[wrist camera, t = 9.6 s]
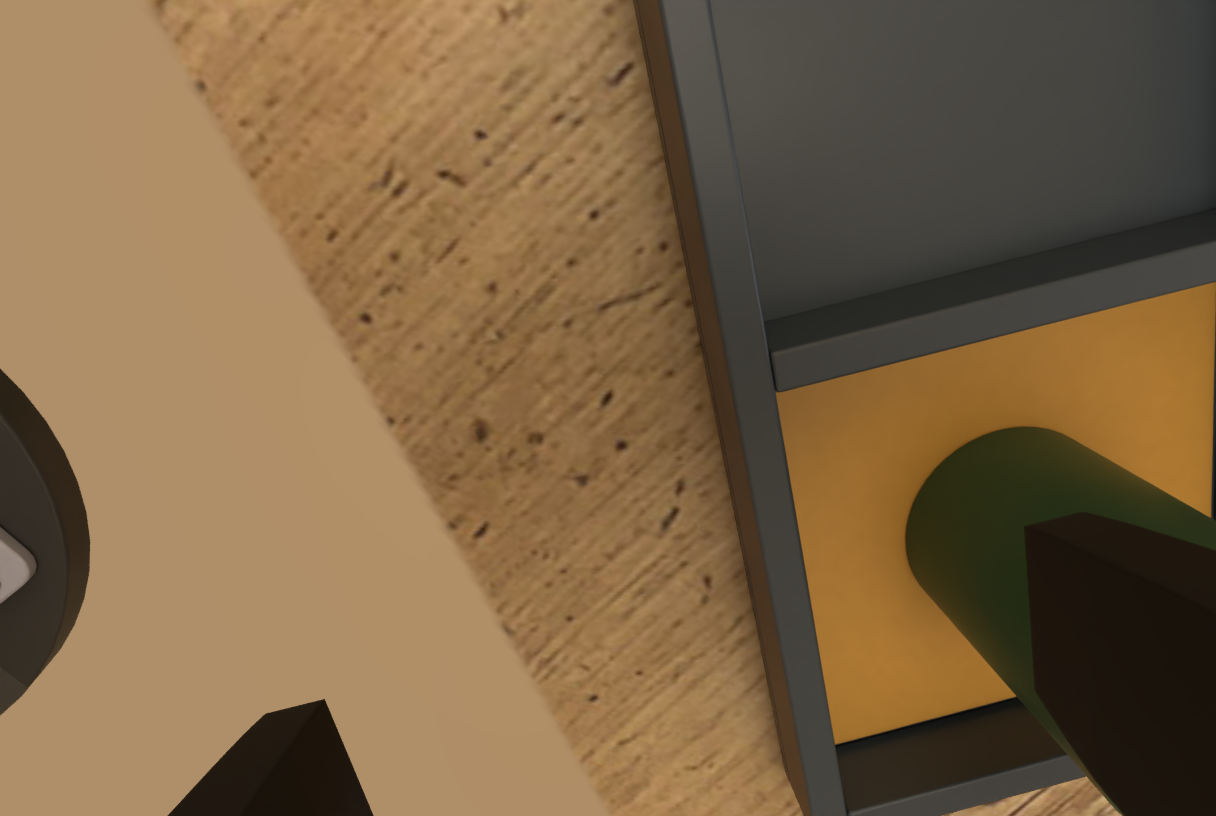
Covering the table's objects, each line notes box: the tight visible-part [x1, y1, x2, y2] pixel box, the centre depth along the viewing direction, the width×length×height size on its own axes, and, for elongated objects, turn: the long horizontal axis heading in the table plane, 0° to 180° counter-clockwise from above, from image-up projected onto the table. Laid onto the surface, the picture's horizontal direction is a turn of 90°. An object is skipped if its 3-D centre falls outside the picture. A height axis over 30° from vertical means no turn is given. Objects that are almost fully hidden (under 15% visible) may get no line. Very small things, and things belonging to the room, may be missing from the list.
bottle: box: [906, 427, 1216, 816], centre depth 14 cm, size 5×5×10 cm
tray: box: [633, 0, 1216, 816], centre depth 16 cm, size 12×22×2 cm, turn 13°
